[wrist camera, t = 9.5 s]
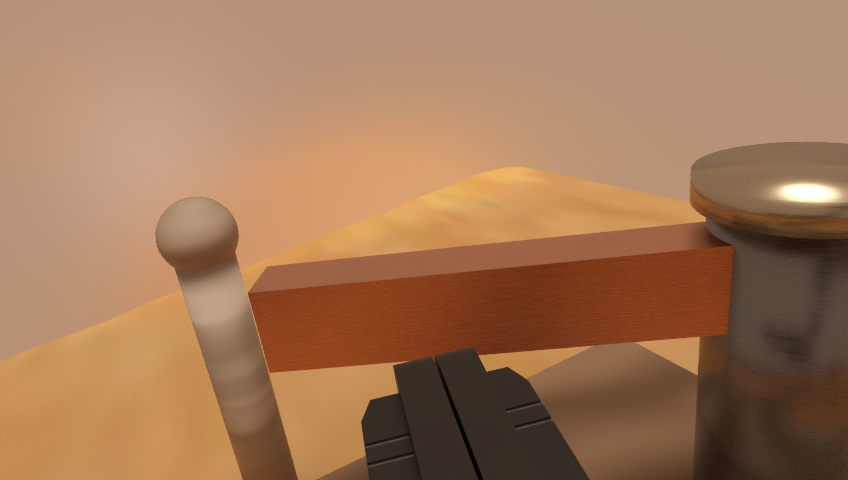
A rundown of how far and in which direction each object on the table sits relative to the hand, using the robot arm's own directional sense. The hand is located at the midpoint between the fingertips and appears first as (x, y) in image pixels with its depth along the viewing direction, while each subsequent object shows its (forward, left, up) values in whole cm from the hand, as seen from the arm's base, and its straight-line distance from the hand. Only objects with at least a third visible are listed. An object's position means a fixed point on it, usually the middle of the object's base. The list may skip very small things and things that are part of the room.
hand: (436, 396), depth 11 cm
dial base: (+3, -7, -14) cm, 16 cm away
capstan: (+5, -7, -12) cm, 15 cm away
